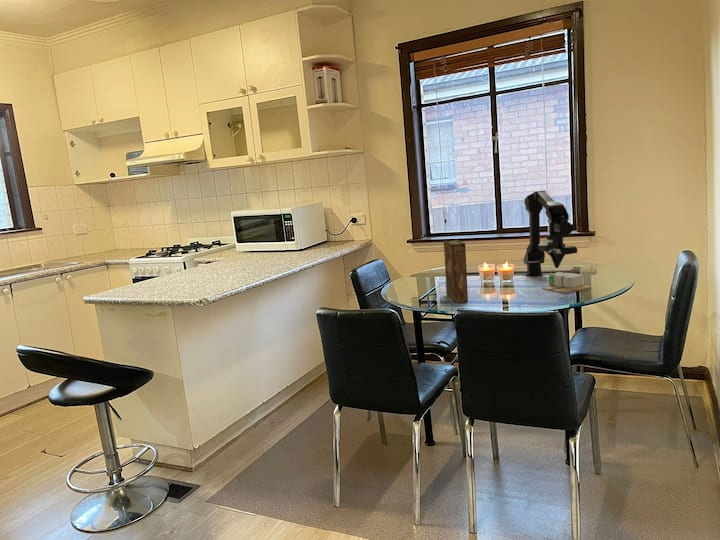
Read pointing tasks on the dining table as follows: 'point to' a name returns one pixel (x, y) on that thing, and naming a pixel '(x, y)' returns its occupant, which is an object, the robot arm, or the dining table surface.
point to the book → (456, 271)
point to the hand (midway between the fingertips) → (556, 267)
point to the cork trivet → (566, 289)
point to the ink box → (565, 280)
